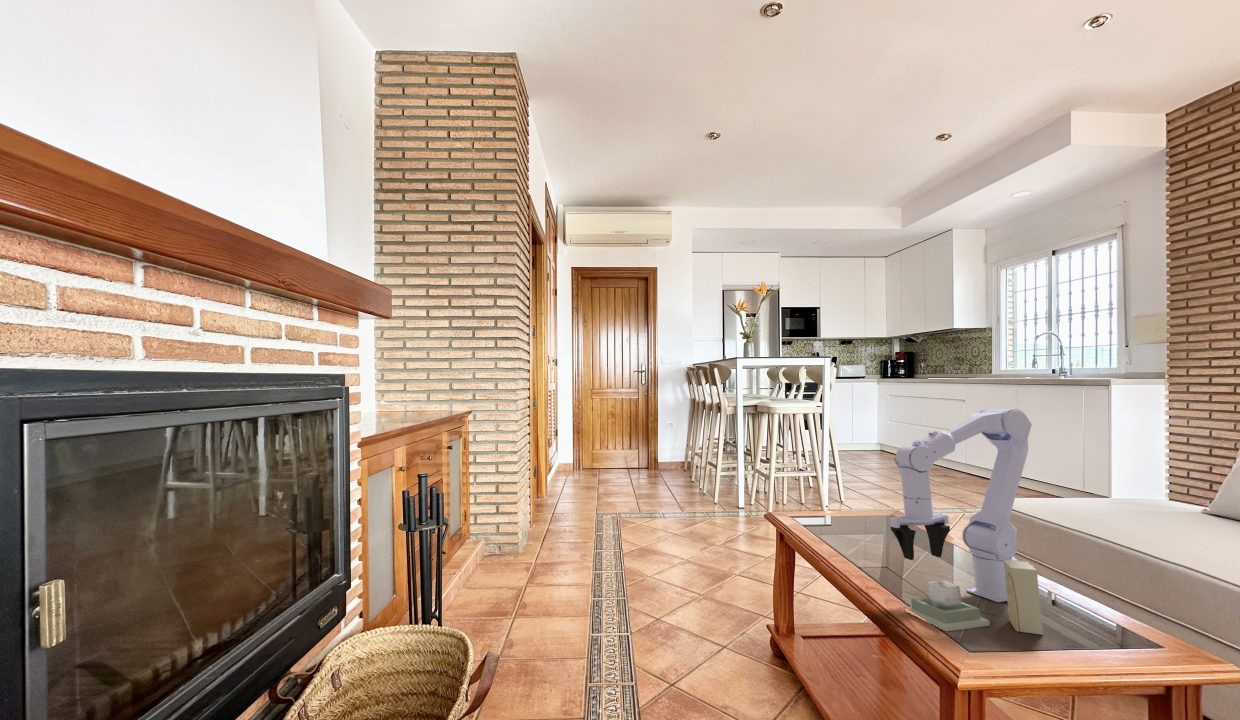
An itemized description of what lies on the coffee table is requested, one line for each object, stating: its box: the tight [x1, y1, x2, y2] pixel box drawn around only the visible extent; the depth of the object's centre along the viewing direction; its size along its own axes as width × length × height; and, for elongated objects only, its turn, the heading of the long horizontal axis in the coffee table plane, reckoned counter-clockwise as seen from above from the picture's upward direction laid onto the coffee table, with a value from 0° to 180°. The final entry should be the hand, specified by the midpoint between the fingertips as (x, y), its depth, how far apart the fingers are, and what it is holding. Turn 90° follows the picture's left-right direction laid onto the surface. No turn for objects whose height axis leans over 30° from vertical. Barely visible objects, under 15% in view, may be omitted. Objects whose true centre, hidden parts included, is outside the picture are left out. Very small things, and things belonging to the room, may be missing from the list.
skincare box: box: [1003, 559, 1044, 636], centre depth 99 cm, size 6×4×12 cm
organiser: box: [906, 596, 991, 632], centre depth 104 cm, size 10×10×3 cm
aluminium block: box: [927, 579, 962, 611], centre depth 104 cm, size 4×4×6 cm
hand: (922, 557), depth 116 cm, fingers open, 7 cm apart
